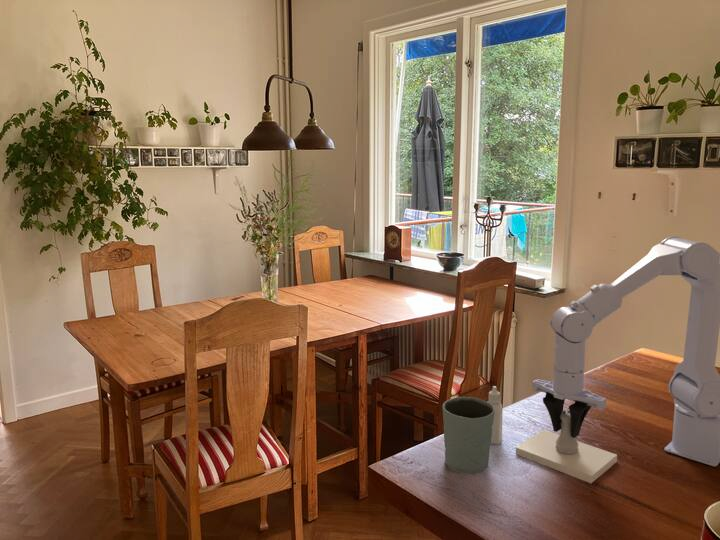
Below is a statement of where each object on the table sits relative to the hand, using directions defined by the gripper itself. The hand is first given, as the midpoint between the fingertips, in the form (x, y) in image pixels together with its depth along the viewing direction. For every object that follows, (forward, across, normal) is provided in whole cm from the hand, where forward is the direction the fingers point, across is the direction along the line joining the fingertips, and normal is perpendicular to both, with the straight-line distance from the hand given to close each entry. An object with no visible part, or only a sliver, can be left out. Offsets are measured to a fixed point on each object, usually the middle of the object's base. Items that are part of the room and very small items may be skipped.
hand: (566, 432), depth 117 cm
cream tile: (+5, 0, 0) cm, 5 cm away
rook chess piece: (+4, 0, +1) cm, 4 cm away
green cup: (+6, -13, -15) cm, 21 cm away
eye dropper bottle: (+6, -15, -3) cm, 16 cm away
